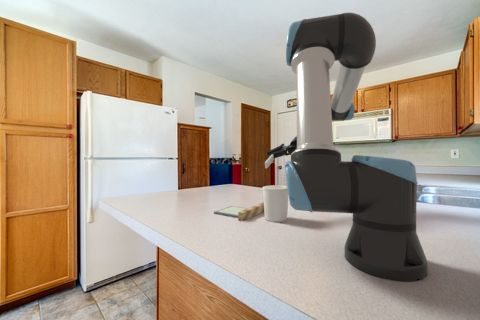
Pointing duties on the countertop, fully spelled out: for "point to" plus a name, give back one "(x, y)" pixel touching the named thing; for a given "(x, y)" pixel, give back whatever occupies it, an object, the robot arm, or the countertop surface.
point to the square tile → (230, 211)
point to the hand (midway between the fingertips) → (281, 169)
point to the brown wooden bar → (250, 212)
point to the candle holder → (275, 203)
